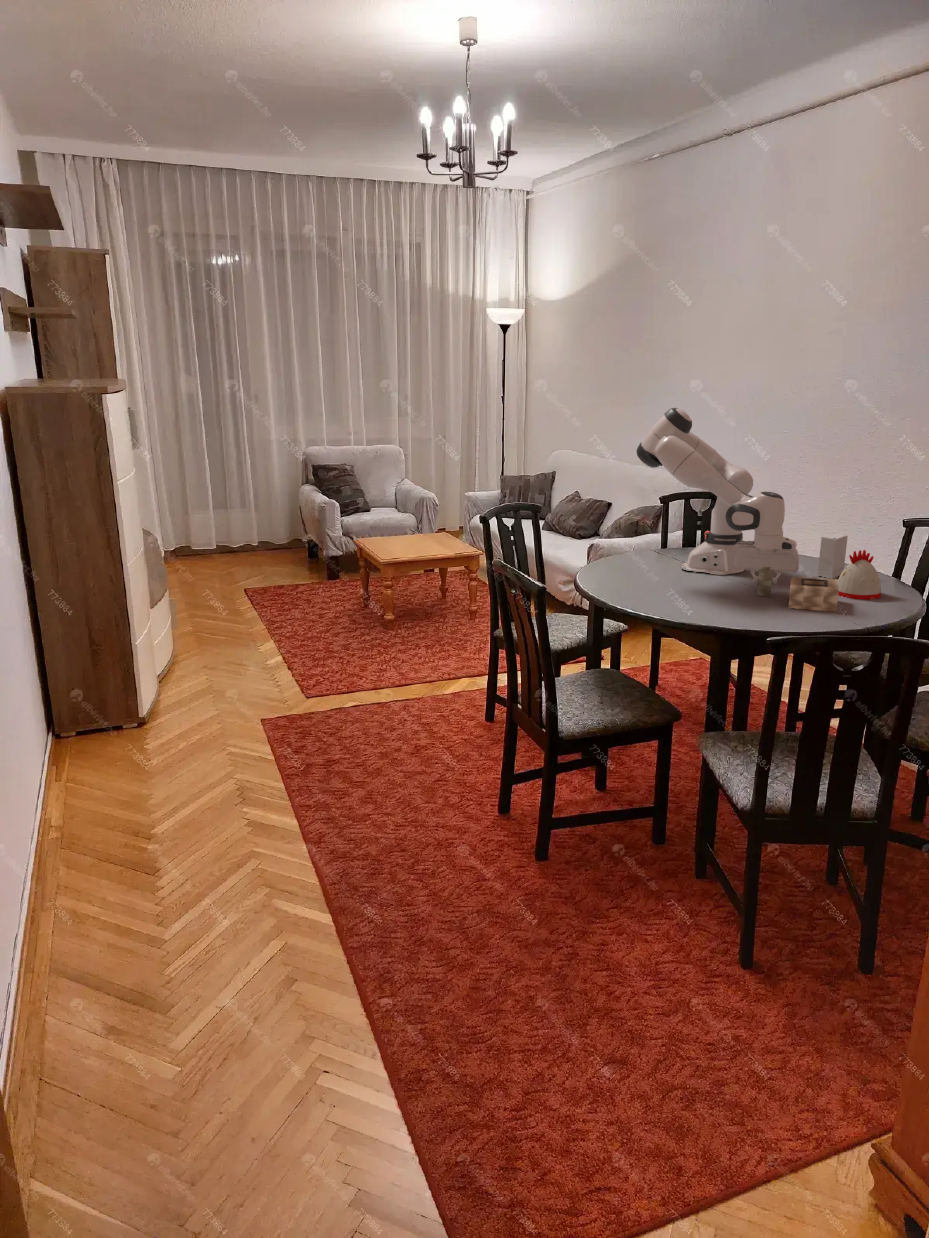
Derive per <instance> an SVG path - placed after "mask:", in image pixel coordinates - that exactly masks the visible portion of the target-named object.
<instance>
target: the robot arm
mask: <svg viewBox="0 0 929 1238" xmlns="http://www.w3.org/2000/svg"><path fill="white" fill-rule="evenodd" d="M692 427H693V420H692V419H691V417H690V415H689V414H688V413H687V412H685V410H682V409H680V408H677V407H671V408H669V409H668V410H667V411H666V412H665V413H664V415H662V417H660V418H659V419H658V420H657V421H656V423H655V424H653V426H652V427H651V429H650V430H649V432H647V434H646V435H645V437H644V438H643V440H642V442H640V443H639V445H638V447H637V448H636V455H637V458H638V459H639V461H640V462H641V463H642V464H644V465H645V466H647V467H650V468H652V469H653V468H655V469H656V468H659V467H662V466H663V467H664V469H666V471H667V472H668V473H670V475H672V477H674V478H675V479H676V480H677V481H678V482H679V483H681V484H682V485H684V486H686V487H687V488H692V489H700V490H701V489H702V490H706V491H708V492H710V493H712V494H713V495H715V496H716V502H715V503H714V507H713V509H711V519H710V530H706V531H705V532H704V541H703V542H702V543H701V544H699V545H698V546H696V547H695V548H693V549H692V550H691V551H690V552H689V555H688V558H687V561H686V562H684V563H682V565H684V566H682V565H681V567H682V568H683V567H684V568H686V569H687V570H691V571H696V572H706V573H710V574H709V575H717V576H726V575H732V574H738V573H742V572H744V570H750V574H751V577H752V578H753V580H752V582H753V583H757V584H758V576H757V575H756V570H758V571H759V570H761V568H762V567H770V570H773V572H775V571H776V575H775V577H773V578H772V585H774V584H775V585H776V584H778V578H779V577H780V576H781V574H782V572H793V573H794V572H795V573H796V572H798V571H799V569H800V559H799V558H800V556H799V551H798V549H797V544H798V543H797V541H796V540H794V539H791V538H789V537H786V536H784V530H783V525H784V522H785V515H786V514H785V512H786V509H785V507H786V505H785V500H784V497H783V496H782V495H781V494H779V493H776V492H773V491H761V492H759V493H758V494H756V495H750V493H751V492H752V490H753V486H754V479H753V476H752V475H751V473H750V472H749V471H748V470H747V469H746V468H744V467H741V466H739V465H734V464H733V463H730V462H729V461H728V460H727V459H725V458H724V457H723V455H722V456H721V454H719V453H718V452H717V450H716V449H714V448H713V447H712V446H711V445H710V444H709V443H707V442H706V441H704V440H703V439H701V438H700V437H699V436H698V435H695V434H694V433H693V432H691V429H692ZM751 530H752V531H753V530H754V539H753V540H748V541H746V540H744V537H743V536H744V534H743V532H745V531H751ZM696 572H695V573H696Z"/></svg>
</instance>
